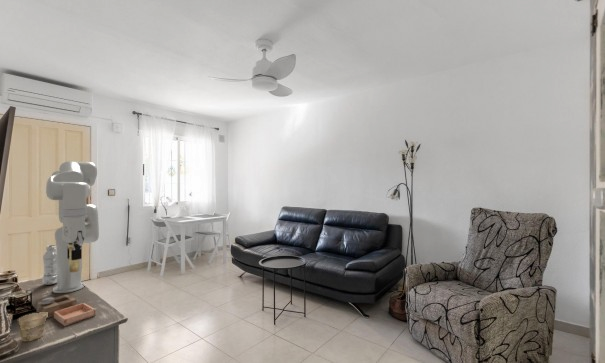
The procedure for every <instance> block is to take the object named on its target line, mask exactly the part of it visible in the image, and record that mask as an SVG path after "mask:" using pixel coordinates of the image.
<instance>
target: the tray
mask: <svg viewBox="0 0 605 363" xmlns="http://www.w3.org/2000/svg"><path fill="white" fill-rule="evenodd" d="M92 316H93V317H95V316H96V308H94V307H92V306H91V305H89V304H86V303H85V302H81V303H78V304H76V305H75V306H71V307H68V308H65V309H62V310H58V311H55V312H54V316H53V319H54V320H56V321H57V322H59V323H60V324H61V325H62V326H64V327H66V326H70V325H72V324H75V323H78V322H81V321H84V320H86V319H87V320H88V319H89V318H92Z"/></svg>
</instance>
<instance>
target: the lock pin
mask: <svg viewBox="0 0 605 363" xmlns="http://www.w3.org/2000/svg"><path fill="white" fill-rule="evenodd" d="M76 244H77V243H76ZM76 244H75V245H76ZM68 248H69V272H77V271H79V260H80V259H78V260H71V250H73V249H72V243H70V244H68Z"/></svg>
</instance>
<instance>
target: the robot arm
mask: <svg viewBox="0 0 605 363" xmlns="http://www.w3.org/2000/svg"><path fill="white" fill-rule="evenodd" d="M97 177H98V168H97V165H96V164H95V163H94V162H91V161H76V160H75V161H73V160H72V161H71V160H69V161H68V160H67V161H64V162H63V163H61V164H60V166H59V168H58V170H55V171H54V172H52V174H51V176H50V177H49V178H47V181H46V188H45V194H46V197H47V198H48V199H49V200H51V201H58V219H59V222H60V223H61V224H62V226H61V227H58V228H57V229H56V230H55V232H54V240H55V245H56V251H57V283H56V286H55V287H53V288H52V292H53V293H54V294H68V293H73V292H76V291H79V290H81V289H84V288H85V287H86V282H84V281H82V274H83V273H82V264H83V263H82V260H83V259H82V258H83V257H82V254H83V253H82V252H83V251H82V250H83V244H88V243H89V244H90V243H95V242H97V241H98V240H99V237H100V226H99V223H100V222H99V211H98V208H97V206H96V205H95V204H91V203H87V200H88V198H89V196H90V195H91V187H93V186H94V185H95V183H96V180H97ZM70 243H72V249H73V250H71V260H78V259H80V260H79V271H77V272H69V248H68V244H70ZM76 243H77V244H76ZM75 244H76V245H75ZM82 284H83V285H84V286H85V287H84V286H83V285H82Z"/></svg>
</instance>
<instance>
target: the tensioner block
mask: <svg viewBox="0 0 605 363" xmlns="http://www.w3.org/2000/svg"><path fill="white" fill-rule="evenodd" d="M75 305H77V299H76V298H74V297H73V296H71V295H69V294H68V293H65V294H64V295H60V296H56V297H53V296H52V297H51V296H50V297H45V298H43V299H41V300H40V301H37V304H36V306H37V307H36V309H37V310H36V312H37V313H38V312H48V317H47V318H46V319H49V318H52V317H53V318H54V312H55V311H58V310H62V309H65V308H68V307H71V306H75Z"/></svg>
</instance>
